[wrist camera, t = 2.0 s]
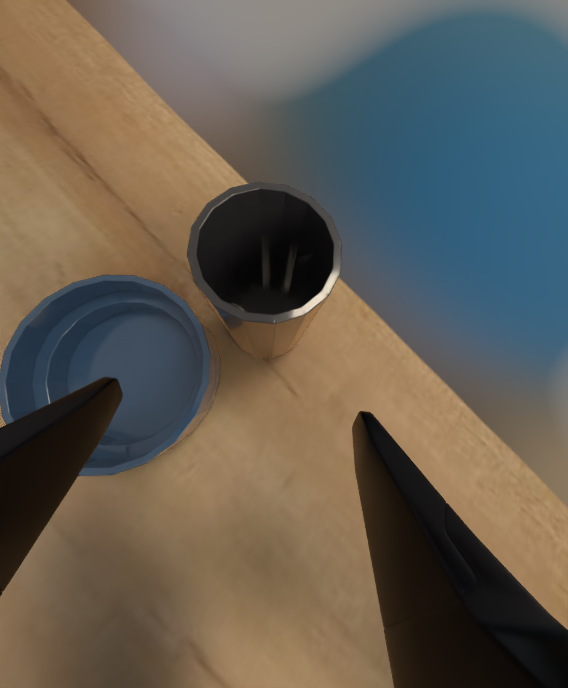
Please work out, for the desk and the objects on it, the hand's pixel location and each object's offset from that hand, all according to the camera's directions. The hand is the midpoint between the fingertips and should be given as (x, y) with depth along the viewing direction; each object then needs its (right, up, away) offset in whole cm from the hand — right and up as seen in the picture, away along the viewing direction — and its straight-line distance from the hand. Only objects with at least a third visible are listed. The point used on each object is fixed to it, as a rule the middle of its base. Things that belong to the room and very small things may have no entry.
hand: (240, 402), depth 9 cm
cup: (0, +4, +14) cm, 15 cm away
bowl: (-11, 0, +12) cm, 17 cm away
